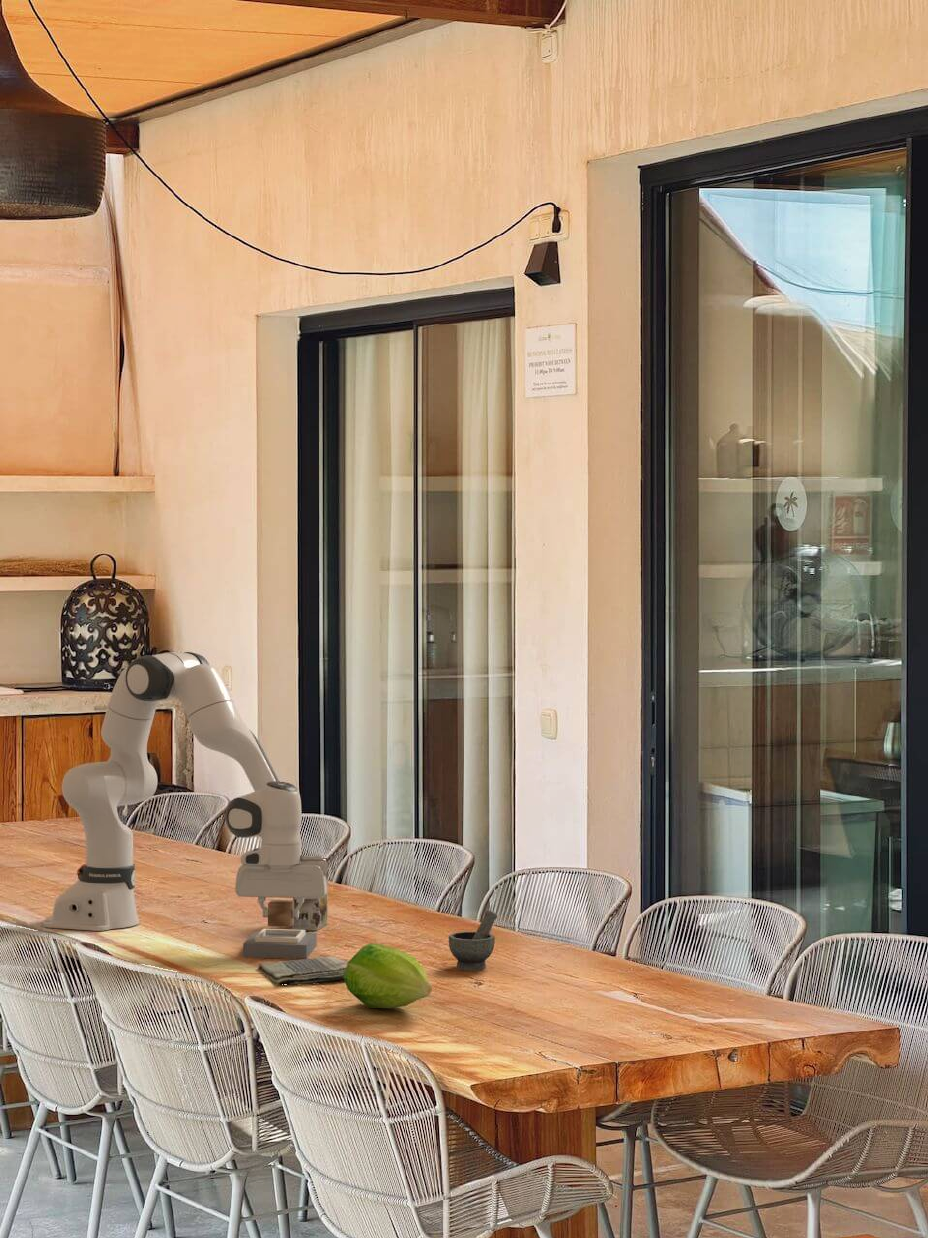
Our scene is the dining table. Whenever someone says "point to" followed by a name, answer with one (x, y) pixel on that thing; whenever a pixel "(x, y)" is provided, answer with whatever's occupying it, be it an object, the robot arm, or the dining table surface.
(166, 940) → the dining table surface
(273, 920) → the walnut block
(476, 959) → the mortar and pestle
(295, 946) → the plinth
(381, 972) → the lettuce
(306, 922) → the coffee box
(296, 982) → the dish towel
